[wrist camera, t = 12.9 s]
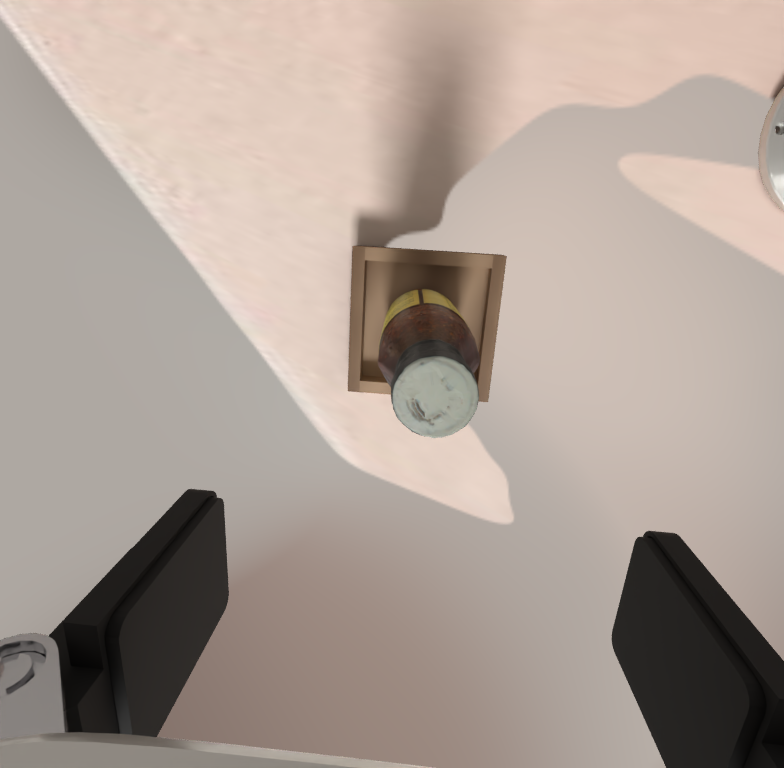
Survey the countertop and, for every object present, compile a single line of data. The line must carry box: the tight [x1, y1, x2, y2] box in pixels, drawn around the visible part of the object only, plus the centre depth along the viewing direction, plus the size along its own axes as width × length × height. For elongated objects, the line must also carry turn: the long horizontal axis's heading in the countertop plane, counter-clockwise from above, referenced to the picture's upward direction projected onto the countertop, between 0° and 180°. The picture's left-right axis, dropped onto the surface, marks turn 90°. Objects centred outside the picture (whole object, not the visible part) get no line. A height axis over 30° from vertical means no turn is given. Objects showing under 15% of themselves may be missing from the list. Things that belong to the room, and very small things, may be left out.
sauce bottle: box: [378, 289, 480, 438], centre depth 31 cm, size 7×6×20 cm
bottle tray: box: [348, 246, 506, 402], centre depth 40 cm, size 12×12×2 cm
